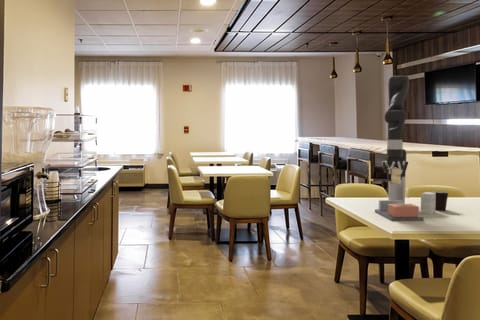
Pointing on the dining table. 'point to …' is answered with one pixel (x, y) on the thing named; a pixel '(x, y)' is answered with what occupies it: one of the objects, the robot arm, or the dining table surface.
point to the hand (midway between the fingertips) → (394, 180)
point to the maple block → (395, 176)
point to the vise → (384, 212)
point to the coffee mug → (440, 200)
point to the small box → (428, 202)
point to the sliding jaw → (403, 210)
